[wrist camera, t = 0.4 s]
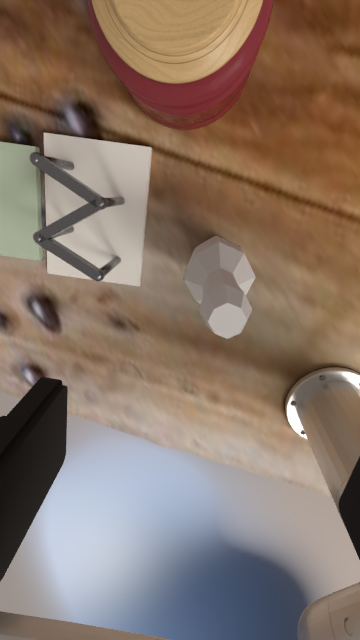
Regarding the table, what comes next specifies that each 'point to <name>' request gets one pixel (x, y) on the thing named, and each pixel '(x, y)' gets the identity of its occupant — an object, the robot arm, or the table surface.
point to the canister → (181, 53)
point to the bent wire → (72, 216)
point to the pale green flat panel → (19, 202)
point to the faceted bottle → (220, 285)
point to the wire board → (110, 223)
